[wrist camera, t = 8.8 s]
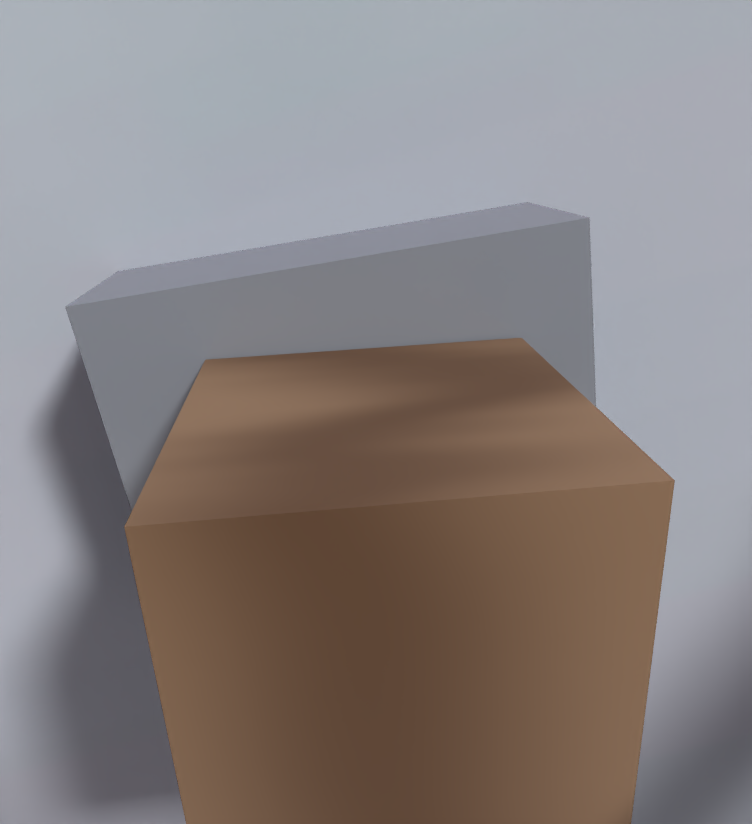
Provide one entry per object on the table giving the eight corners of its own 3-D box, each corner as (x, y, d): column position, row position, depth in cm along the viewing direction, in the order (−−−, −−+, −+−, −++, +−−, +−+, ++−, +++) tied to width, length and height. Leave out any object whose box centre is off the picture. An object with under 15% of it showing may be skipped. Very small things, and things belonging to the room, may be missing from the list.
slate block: (522, 200, 14) (589, 217, 11) (545, 540, 17) (604, 635, 13) (122, 268, 13) (65, 306, 10) (218, 601, 16) (197, 713, 13)
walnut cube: (521, 337, 11) (675, 481, 6) (513, 597, 13) (626, 853, 8) (205, 359, 11) (124, 526, 6) (242, 622, 13) (203, 905, 8)
